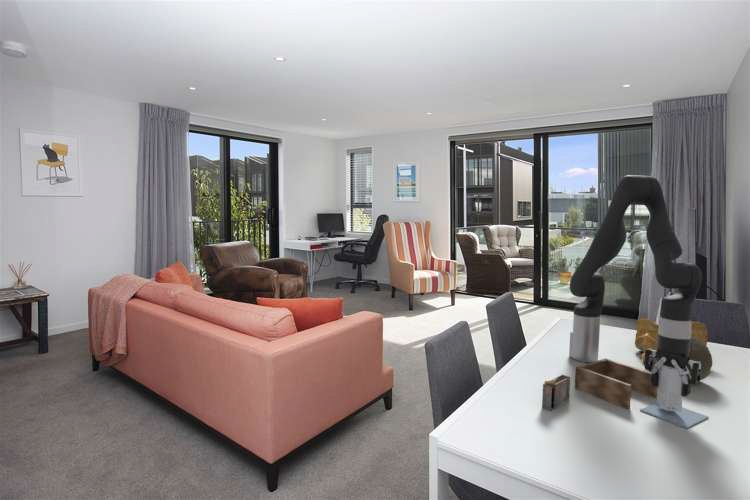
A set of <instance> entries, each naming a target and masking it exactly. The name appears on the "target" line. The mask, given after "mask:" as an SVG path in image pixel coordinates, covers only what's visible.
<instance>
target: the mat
mask: <svg viewBox="0 0 750 500" xmlns="http://www.w3.org/2000/svg"><path fill="white" fill-rule="evenodd" d="M639 411H640V412H642V413H645V414H647V415H650V416H653V417H655V418H658V419H660V420H663V421H665V422H668V423H671V424H673V425H676V426H679V427H680V428H684V429H686V430H688V429H690V428H691V427H694V426H695V425H698V424H699V423H701V422H703V421H705V420H708V419H709V418H710V417H709V415H707V414H706V415H705V414H702V413H700V412H697V411H694V410H692V409H688V408H686V407H683V406H682V411H681V412H678V411H667V410H665V409H664V408H663V407H662V406H661V405H660V404H659V403H658V402H657V401H656V402H655V403H652V404H649V405H648V406H645V407H643V408H641V409H640V410H639Z"/></svg>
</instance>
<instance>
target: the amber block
mask: <svg viewBox="0 0 750 500" xmlns="http://www.w3.org/2000/svg"><path fill="white" fill-rule="evenodd" d="M636 326H637V327H636V333H635V339H634V341H635V340H636V338H637V337H639V336H643V335H645V334H646V333H649V336H650V337H651V338H653V339H654V340H656V341H657V343H658V330H659V324H657V323H655V322H654V321H652V320H651V319H649V318H639V319H638V320H637V325H636ZM708 332H709V331H708V329H707V326H706V324H704V323H703V322H701V321H700V322H699V321H691V337H695V338H697V339H699V340H701V341H702V342H703V343H704V344H705V345H706V346H707V344H708V334H709V333H708ZM643 342H645V341H644V339H643V338H638V339H637V341H636V343H635V342H634V346H635V348H636V349H638V350H639V351H641V352H642V353H645V352H644V347H645V346H644V345H643ZM649 343H651V346H652V349H653V350H655V351H657V349H658V347H657V343H656V342H655V341H653V340H651V339H650V341H649ZM649 348H650V347H648V345H647V346H646V350H647V349H649Z"/></svg>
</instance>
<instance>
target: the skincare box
mask: <svg viewBox="0 0 750 500" xmlns="http://www.w3.org/2000/svg"><path fill="white" fill-rule="evenodd" d="M682 371H683V372H684V371H685V370H683V369H682ZM682 383H684V382H683V380H682V378H681V377H680V376H679V375H678V370H677V369H675V368H673V367H669V366H666V365H663V366H661V369H659V378H658V391H657V397H656V403H657V402H658V403H659V404H660V405H661V406H662V407H663V408H664V409H665V410H667V411H678V412H681V411H682V407H683V396H682Z"/></svg>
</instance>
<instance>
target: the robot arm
mask: <svg viewBox="0 0 750 500" xmlns="http://www.w3.org/2000/svg"><path fill="white" fill-rule="evenodd" d="M662 189H663V188H662V187H661V184H660V182H659V179H658V178H656V177H654V176H651V175H636V174H635V175H634V174H627V175H625V176H623V177H621V179H620V180H619V182H618V184H617V185H616V188H615V191H614V193H613V196H612V199H611V201H610V204H609V206H608V209H607V211H606V213H605V216H604V218H603V221H602V222H601V224H600V226H599V227H598V229H597V231H596V233H595V235H594V237H593V240H592V241H591V244H590V246H589V248H588V249H587V252H586V254H585V255H584V257H583V258H582V261H581V262H580V263H579V265H578V266H577V268H576V270H575V271H574V272H573V274H572V276H571V278H570V282H569V291H570V293H571V294H572V295H573V296H575V297H577V298H585V299H584V300H583V301H582V302H580V303H577V304H575V305H574V307H573V319H572V321H573V323H572V331H571V332H570V333H569V349H568V350H569V353H568V356H569V358H570V357H571V359H574V360H576V361H578V362H582V363H591V362H595V361H598V360H599V350H600V349H599V347H600V333H601V314H602V311H603V306H604V299H605V289H606V283H605V278H604V277H603V275H602V274H601V272H598V271H599V270H600V269H601V268H603V267H604V266H606V265H608V264H609V263H610V262H611V261H613V260H614V259H615V258H616V257H617V256H618V255H619V253H620V251H621V250H622V248H623V247H624V245H625V242H626V241H627V236H628V235H627V229H626V225H625V221H624V217H625V214H626V212H627V210H628V208H629V207H630V206H631V205H633V206H645V208H646V209H647V210H648V213H649V221H648V224H647V228H646V232H645V233H646V235H645V236H646V240H647V243H648V245H649V248H650V250H651V252H652V255H653V261H654V271H655V279H656V282H658V284H659V285H660V286H661V287H662V288H665V289H677V290H676V291H675V293H673V294H672V295H668V296H664V297H663V298H661V299H662V300H661V304H660V306H661V307H660V318H659V322H658V326H659V330H658V344H657V347H658V349H657V351H655V350H653V349H652V348H651V349H647V350H645V362H644V369H645V371H648V372H651V373H652V376H651V383H652V384H653V386H654V387H658V378H659V369H661V366H663V365H666V366H669V367H673V368H675V369H677V370H678V375H679V376H680V377H681V378H682V380H683V382H684V383H682V396H683V397H684V398H687V397H688V396H690V395H691V392H692V385H696V384H699V383H701V380H700V379H701V371H702V362H700V361H698V362H696V361H693V360H690V358H689V352H690V339H691V322H692V321H691V320H692V309H693V305H694V302H695V299H696V298H697V294H698V293H699V290H700V288H701V284H702V280H703V275H702V273H703V272H702V270H701V269H700V268H699V266H698V265H697V264H695V263H691V262H673V261H674V260H677V259H679V258H680V257H681V256H682V254H683V248H682V246H681V243H680V241H679V238H678V237H677V235H676V233H675V230H674V229H673V226H672V224H671V221H670V218H669V213H668V209H667V204H666V201H665V197H664V192H663V190H662ZM655 357H657V360H658V362H657V363H656V364H655V365H654V359H655ZM688 364H690V366H691V368H692V376H690V374H689V370H688V368H687V367H686V366H687V365H688ZM682 369H683V370H685V371H684V372H683V371H682ZM683 397H682V398H683Z"/></svg>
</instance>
